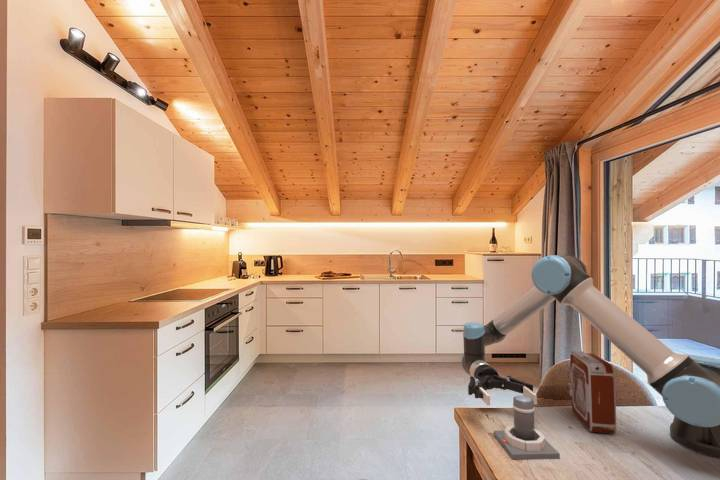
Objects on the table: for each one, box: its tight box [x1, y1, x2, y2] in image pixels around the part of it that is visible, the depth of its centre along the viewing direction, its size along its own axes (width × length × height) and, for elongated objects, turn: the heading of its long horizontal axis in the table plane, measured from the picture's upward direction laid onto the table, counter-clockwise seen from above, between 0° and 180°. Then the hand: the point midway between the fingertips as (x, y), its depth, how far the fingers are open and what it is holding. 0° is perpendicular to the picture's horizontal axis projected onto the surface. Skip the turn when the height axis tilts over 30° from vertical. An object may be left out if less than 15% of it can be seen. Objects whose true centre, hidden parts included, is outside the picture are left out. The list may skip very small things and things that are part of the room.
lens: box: [512, 395, 535, 441], centre depth 96 cm, size 5×5×11 cm
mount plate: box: [493, 424, 561, 460], centre depth 95 cm, size 12×12×3 cm
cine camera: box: [567, 350, 617, 434], centre depth 110 cm, size 9×19×20 cm, turn 169°
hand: (512, 400), depth 102 cm, fingers open, 13 cm apart
